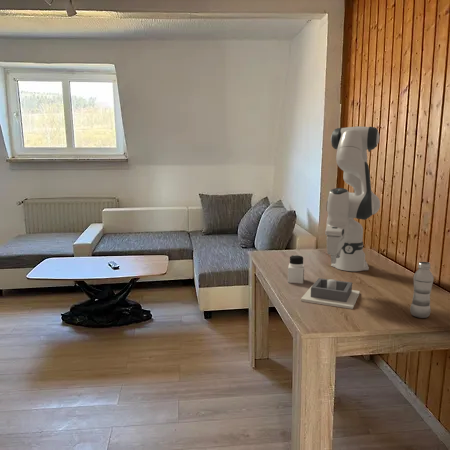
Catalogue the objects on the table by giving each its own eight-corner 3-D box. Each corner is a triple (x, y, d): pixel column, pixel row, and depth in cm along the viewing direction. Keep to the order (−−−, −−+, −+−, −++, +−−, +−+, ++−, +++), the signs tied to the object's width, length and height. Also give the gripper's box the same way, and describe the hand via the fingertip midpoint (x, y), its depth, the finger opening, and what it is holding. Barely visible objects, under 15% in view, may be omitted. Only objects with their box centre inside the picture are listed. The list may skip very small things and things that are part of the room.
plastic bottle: (406, 313, 151) (410, 260, 147) (423, 313, 151) (428, 260, 148) (415, 320, 144) (420, 265, 141) (433, 319, 145) (439, 265, 142)
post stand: (312, 286, 181) (313, 271, 180) (359, 293, 173) (360, 277, 171) (300, 301, 163) (301, 284, 162) (352, 309, 155) (353, 291, 154)
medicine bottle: (303, 283, 185) (304, 258, 183) (287, 282, 186) (288, 257, 184) (303, 279, 192) (304, 254, 190) (288, 278, 193) (289, 253, 191)
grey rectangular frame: (318, 287, 177) (318, 278, 177) (351, 291, 172) (352, 282, 171) (310, 296, 165) (311, 287, 164) (346, 302, 159) (346, 292, 158)
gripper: (334, 223, 179) (332, 253, 182) (324, 231, 161) (323, 265, 164) (349, 224, 177) (347, 255, 179) (340, 233, 159) (339, 267, 161)
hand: (335, 260), depth 171 cm, fingers open, 8 cm apart
